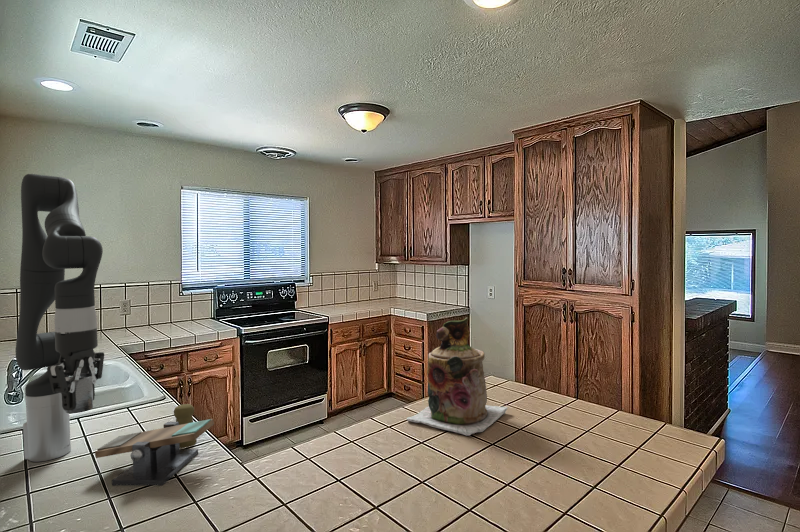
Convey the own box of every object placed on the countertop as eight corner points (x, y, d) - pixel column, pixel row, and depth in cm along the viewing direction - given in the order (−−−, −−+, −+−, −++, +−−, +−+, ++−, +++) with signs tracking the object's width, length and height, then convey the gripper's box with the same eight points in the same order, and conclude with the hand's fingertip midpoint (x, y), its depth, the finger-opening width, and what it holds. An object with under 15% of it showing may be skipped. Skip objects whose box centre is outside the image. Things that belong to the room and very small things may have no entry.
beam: (95, 458, 111) (94, 450, 111) (122, 441, 121) (121, 434, 121) (195, 439, 109) (193, 432, 109) (214, 424, 119) (212, 417, 119)
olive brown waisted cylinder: (187, 448, 127) (186, 409, 126) (168, 447, 128) (167, 408, 128) (201, 440, 133) (200, 402, 132) (182, 438, 134) (181, 401, 133)
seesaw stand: (111, 485, 107) (110, 447, 107) (155, 453, 124) (153, 420, 124) (161, 485, 106) (160, 447, 106) (198, 453, 124) (197, 420, 123)
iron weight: (59, 413, 98) (58, 380, 98) (77, 405, 103) (75, 374, 103) (82, 413, 98) (80, 380, 97) (98, 405, 103) (97, 374, 102)
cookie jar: (443, 401, 162) (441, 311, 162) (510, 413, 148) (508, 315, 147) (403, 423, 142) (401, 320, 142) (475, 440, 128) (473, 325, 127)
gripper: (83, 322, 107) (86, 395, 108) (31, 334, 93) (35, 417, 93) (115, 322, 107) (117, 395, 107) (67, 333, 92) (70, 417, 93)
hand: (79, 405), depth 100 cm, fingers closed on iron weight, 5 cm apart
